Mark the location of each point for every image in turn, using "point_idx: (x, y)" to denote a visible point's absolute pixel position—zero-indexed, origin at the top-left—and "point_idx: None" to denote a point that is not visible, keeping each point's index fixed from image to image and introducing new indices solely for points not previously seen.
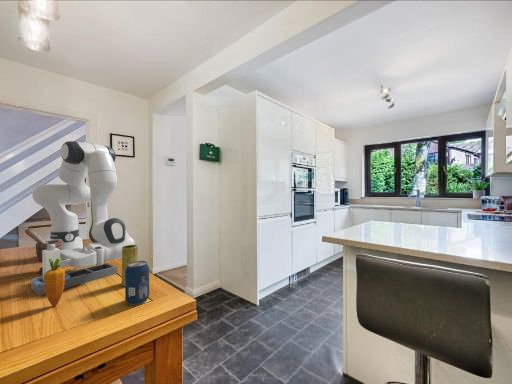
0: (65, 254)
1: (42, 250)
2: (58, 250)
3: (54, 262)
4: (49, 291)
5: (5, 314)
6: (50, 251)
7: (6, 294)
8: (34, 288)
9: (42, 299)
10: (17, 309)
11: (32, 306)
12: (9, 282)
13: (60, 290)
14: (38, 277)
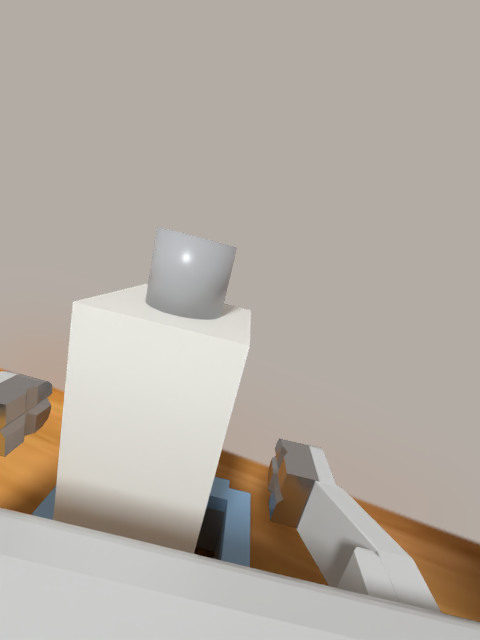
0: (122, 537)
1: (245, 309)
2: (84, 308)
3: (39, 380)
4: None
5: (64, 393)
6: (128, 290)
7: (261, 468)
8: None
9: (13, 481)
10: (55, 412)
11: None
12: (460, 550)
13: None
14: (245, 519)
